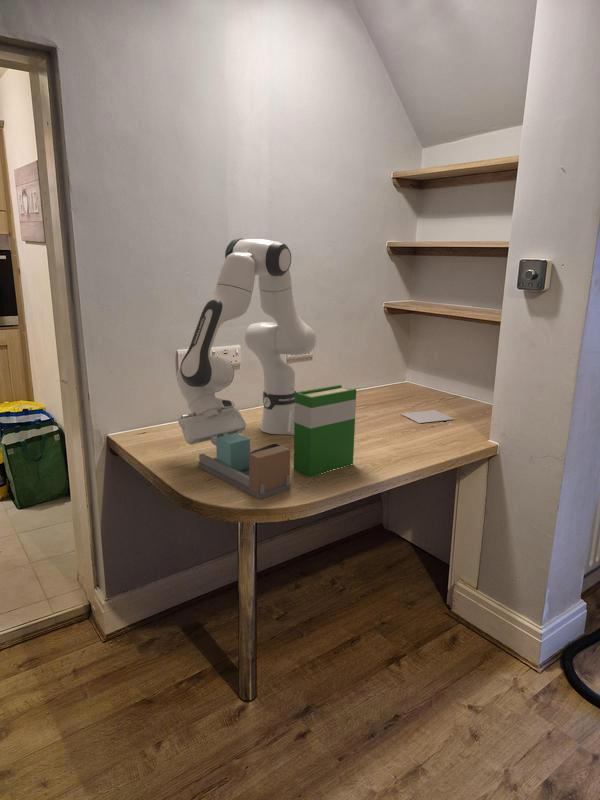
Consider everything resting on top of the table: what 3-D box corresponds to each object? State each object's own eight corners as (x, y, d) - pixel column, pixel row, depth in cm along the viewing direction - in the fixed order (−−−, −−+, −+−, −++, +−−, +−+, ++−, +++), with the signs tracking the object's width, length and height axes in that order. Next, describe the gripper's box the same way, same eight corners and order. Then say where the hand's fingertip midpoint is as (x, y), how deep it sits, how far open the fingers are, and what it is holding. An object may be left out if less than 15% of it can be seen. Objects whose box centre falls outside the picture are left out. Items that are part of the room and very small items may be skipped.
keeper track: (228, 459, 180) (227, 424, 177) (290, 488, 159) (291, 449, 156) (198, 467, 173) (197, 430, 170) (259, 499, 152) (259, 458, 149)
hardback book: (336, 457, 183) (339, 384, 177) (353, 464, 178) (356, 389, 172) (293, 469, 173) (294, 392, 166) (309, 477, 167) (311, 397, 161)
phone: (291, 448, 189) (260, 460, 177) (291, 452, 189) (260, 464, 178) (273, 443, 193) (242, 454, 182) (273, 446, 194) (242, 458, 183)
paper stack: (469, 427, 219) (470, 425, 219) (413, 434, 210) (414, 432, 209) (434, 411, 240) (434, 409, 240) (381, 417, 231) (382, 415, 230)
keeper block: (236, 461, 174) (235, 433, 171) (250, 467, 169) (250, 438, 166) (216, 466, 169) (216, 437, 167) (230, 473, 164) (230, 443, 162)
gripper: (179, 411, 166) (198, 451, 162) (237, 400, 180) (256, 437, 175) (172, 422, 171) (190, 462, 166) (229, 410, 184) (247, 447, 179)
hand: (225, 449), depth 171 cm, fingers closed, pressing on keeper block
